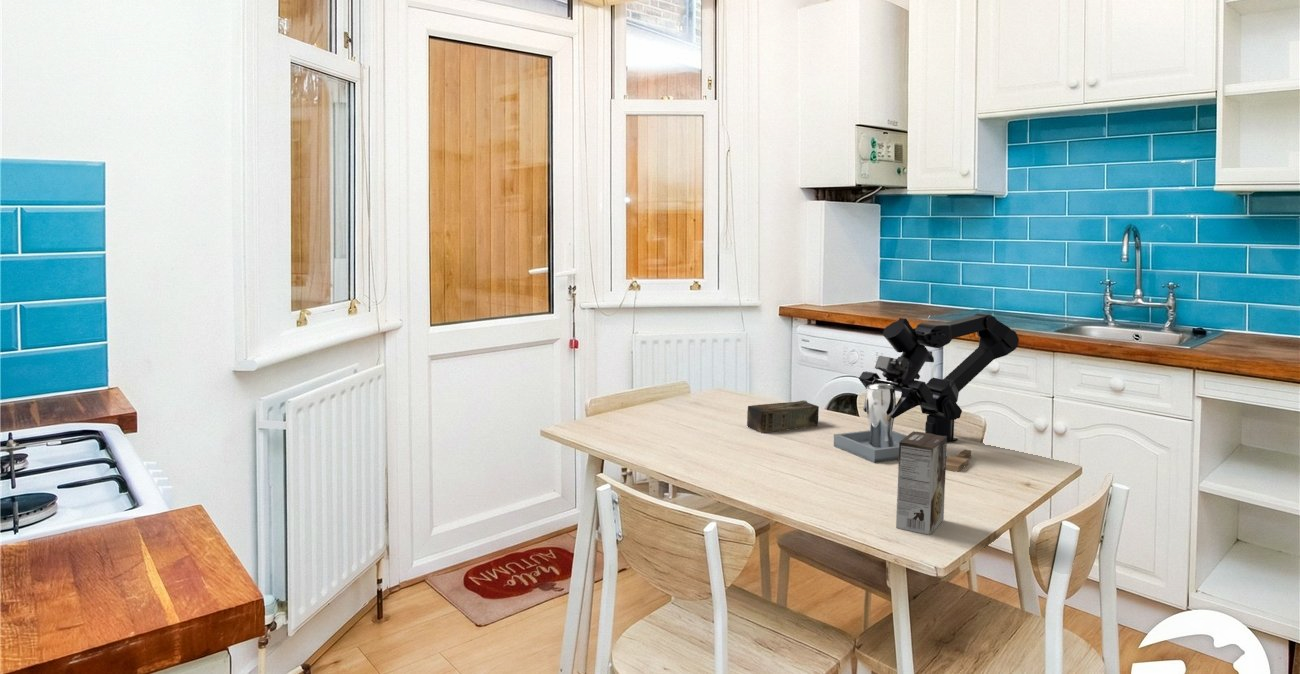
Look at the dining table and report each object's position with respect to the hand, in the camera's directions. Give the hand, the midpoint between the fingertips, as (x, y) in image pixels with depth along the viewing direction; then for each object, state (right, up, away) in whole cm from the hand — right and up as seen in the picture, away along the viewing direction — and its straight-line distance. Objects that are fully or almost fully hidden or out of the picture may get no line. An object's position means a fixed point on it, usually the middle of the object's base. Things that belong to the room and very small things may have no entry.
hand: (878, 414), depth 191 cm
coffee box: (-6, -16, -47) cm, 50 cm away
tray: (+1, -9, +2) cm, 9 cm away
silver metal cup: (+2, -8, +2) cm, 9 cm away
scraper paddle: (+15, -11, -9) cm, 21 cm away
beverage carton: (-19, -6, +27) cm, 33 cm away
